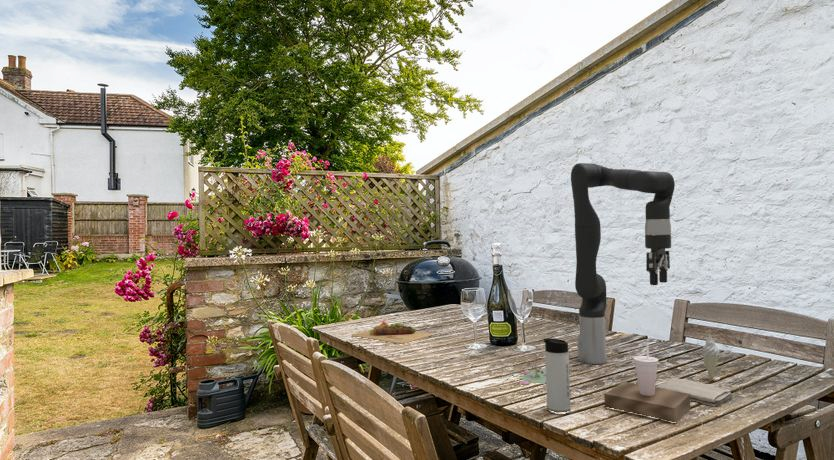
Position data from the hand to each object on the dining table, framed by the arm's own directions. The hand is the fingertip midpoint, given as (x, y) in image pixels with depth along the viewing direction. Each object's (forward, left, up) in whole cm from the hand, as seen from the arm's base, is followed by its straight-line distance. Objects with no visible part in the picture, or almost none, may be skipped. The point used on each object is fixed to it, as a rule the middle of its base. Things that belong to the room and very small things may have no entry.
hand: (658, 283), depth 155 cm
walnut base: (+4, -26, -32) cm, 41 cm away
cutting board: (-125, -2, -33) cm, 129 cm away
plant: (-33, -24, -33) cm, 53 cm away
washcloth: (+10, -6, -33) cm, 35 cm away
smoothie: (+4, -25, -28) cm, 38 cm away
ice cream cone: (+11, +13, -32) cm, 37 cm away
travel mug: (-14, -43, -32) cm, 55 cm away
